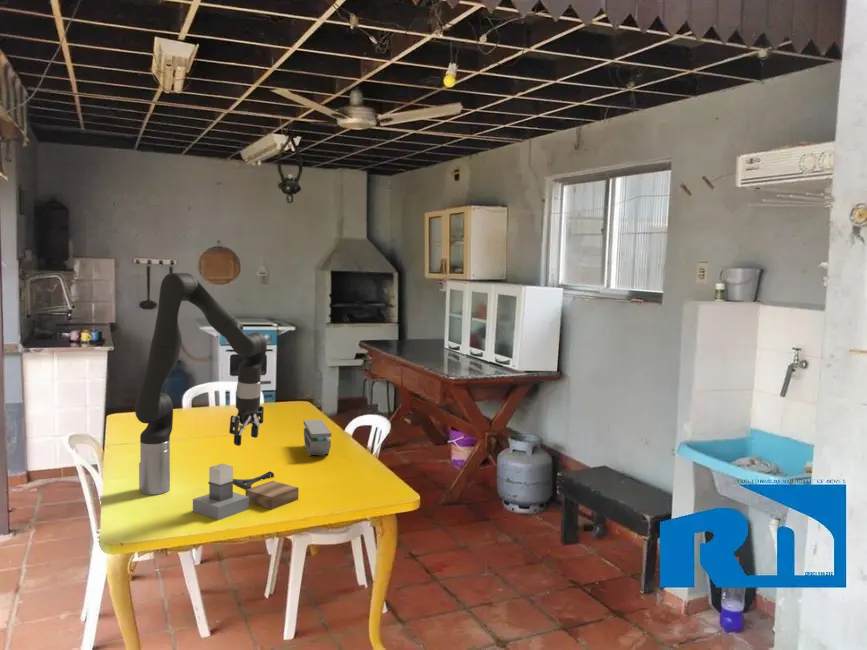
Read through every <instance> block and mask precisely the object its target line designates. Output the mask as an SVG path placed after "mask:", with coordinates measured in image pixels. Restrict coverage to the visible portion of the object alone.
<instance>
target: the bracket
mask: <svg viewBox="0 0 867 650" xmlns="http://www.w3.org/2000/svg"><path fill="white" fill-rule="evenodd" d="M270 476H271V477H272V478H274V477H275V474H274V472H272V471H268V472H265V473H264V474H262V475H260V476H256V477H254V478H250V479H249V478H247V479H244V478H242V479H237V478H233V481H234V483H233V485H236V486H238V487H240V488H241V489H244V490H246V489H249V488H252V485H253V484H254V483H256V482H259V481H262V480H261V479H263V480H266V479H265V478H268V479H271V478H270ZM245 483H246V484H245Z"/></svg>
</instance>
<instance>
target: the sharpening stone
mask: <svg viewBox="0 0 867 650" xmlns="http://www.w3.org/2000/svg"><path fill="white" fill-rule="evenodd" d="M303 425H304V427H305V428H303V439H304V447H305V448H306V449H305V448H304V449H305V451H306V450H307V451H306V453H307V452H308V453H307V455H308V454H309V455H308V457H311V456H310V455H322V456H326V455H325V454H328V455H329V454H330V450H331V446H332V445H331V444H332V441H331V439H330V438H332V431H330V429H329V427H328V426H327V425H326V423H325V422H324V421H323V419H305V420H303Z"/></svg>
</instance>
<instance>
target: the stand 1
mask: <svg viewBox="0 0 867 650" xmlns="http://www.w3.org/2000/svg"><path fill="white" fill-rule="evenodd" d="M246 510H247V511H248V510H250V503H249V497H248V496H246V494H240V493H238V492H234V491H233V498H230V499H227V500H224V501H221V502H219V501H216V500H213V499H210V498H209V493H208V494H205V495H200V496H198V497H195V498H192V513H197V514H199V515H202V516H205V517H207V518H210V519H214V520H216V521H221V520H224V519H225V518H229V517H231V516H234V515H236V514H239V513H242V512H245V511H246Z"/></svg>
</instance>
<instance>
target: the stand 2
mask: <svg viewBox="0 0 867 650" xmlns="http://www.w3.org/2000/svg"><path fill="white" fill-rule="evenodd" d="M299 488H300V487H297V486H294V485H289V484H287V483H282V482H278V481H276V480H275V481H274V480H272V481H268V482H264V483H262V484H260V485H258V484H257V485H256V486H253V487H252V486H251V488H248V489H245V496H248V497H249V504H252V505H256V506H259V507H262V508H265V509H268V510H275V509H277V508H279V507H283V506H285V505H287V504H290V503H292V502H295V501H298V500H299Z"/></svg>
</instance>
